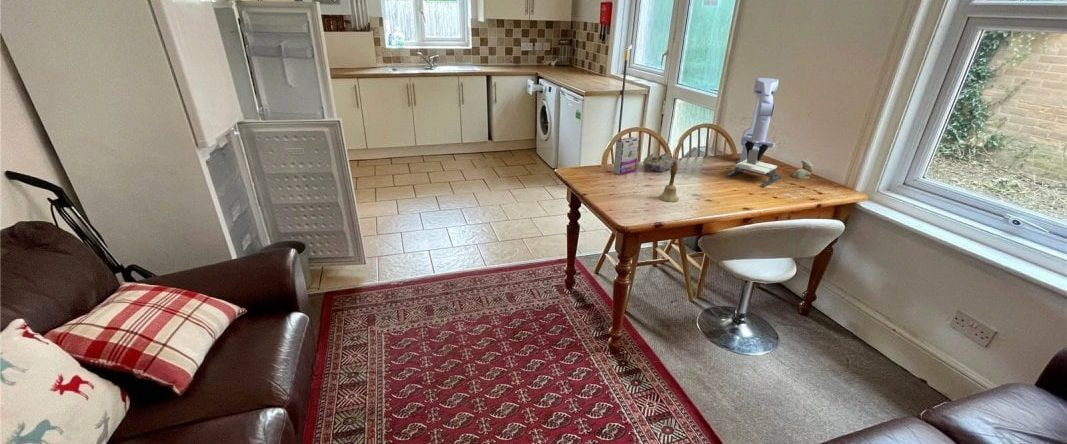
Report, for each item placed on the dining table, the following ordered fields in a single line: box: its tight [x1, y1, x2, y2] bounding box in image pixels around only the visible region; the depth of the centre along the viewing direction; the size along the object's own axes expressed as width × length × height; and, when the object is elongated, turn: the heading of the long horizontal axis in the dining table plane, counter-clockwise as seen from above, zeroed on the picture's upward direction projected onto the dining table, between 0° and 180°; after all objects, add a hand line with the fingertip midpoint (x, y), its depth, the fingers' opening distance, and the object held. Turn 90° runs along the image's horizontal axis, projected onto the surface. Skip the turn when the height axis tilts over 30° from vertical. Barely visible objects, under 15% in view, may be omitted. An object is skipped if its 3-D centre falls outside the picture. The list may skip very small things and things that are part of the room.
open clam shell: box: [791, 157, 815, 180], centre depth 221 cm, size 6×8×10 cm
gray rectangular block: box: [746, 149, 760, 165], centre depth 212 cm, size 4×4×6 cm
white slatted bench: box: [725, 159, 782, 189], centre depth 219 cm, size 20×18×6 cm
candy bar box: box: [612, 136, 640, 176], centre depth 220 cm, size 11×5×16 cm, turn 126°
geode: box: [642, 153, 678, 173], centre depth 227 cm, size 17×9×15 cm
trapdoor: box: [734, 160, 778, 175], centre depth 217 cm, size 14×14×1 cm
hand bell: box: [658, 161, 680, 203], centre depth 190 cm, size 8×8×16 cm
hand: (753, 159), depth 212 cm, fingers closed on gray rectangular block, 4 cm apart
